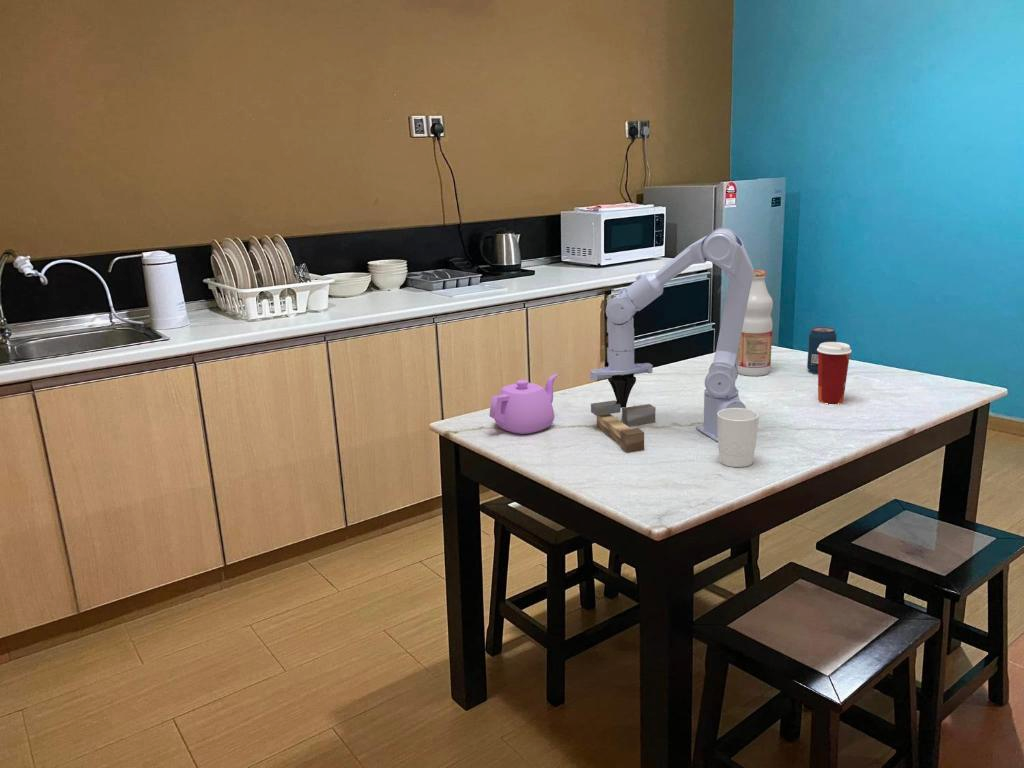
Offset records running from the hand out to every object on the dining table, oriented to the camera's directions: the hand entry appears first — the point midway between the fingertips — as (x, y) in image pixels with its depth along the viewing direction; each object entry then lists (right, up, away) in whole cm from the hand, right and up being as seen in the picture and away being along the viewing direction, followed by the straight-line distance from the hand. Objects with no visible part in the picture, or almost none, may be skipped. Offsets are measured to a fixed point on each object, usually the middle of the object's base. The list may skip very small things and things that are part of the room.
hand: (621, 406), depth 180 cm
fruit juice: (+42, +8, +38) cm, 57 cm away
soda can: (+59, +8, +35) cm, 69 cm away
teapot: (-22, -5, +4) cm, 23 cm away
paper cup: (+52, +1, +11) cm, 53 cm away
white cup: (+20, -11, -22) cm, 32 cm away
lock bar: (-4, -1, -1) cm, 4 cm away
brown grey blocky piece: (+3, -6, -5) cm, 9 cm away
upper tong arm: (-2, -5, -6) cm, 8 cm away
